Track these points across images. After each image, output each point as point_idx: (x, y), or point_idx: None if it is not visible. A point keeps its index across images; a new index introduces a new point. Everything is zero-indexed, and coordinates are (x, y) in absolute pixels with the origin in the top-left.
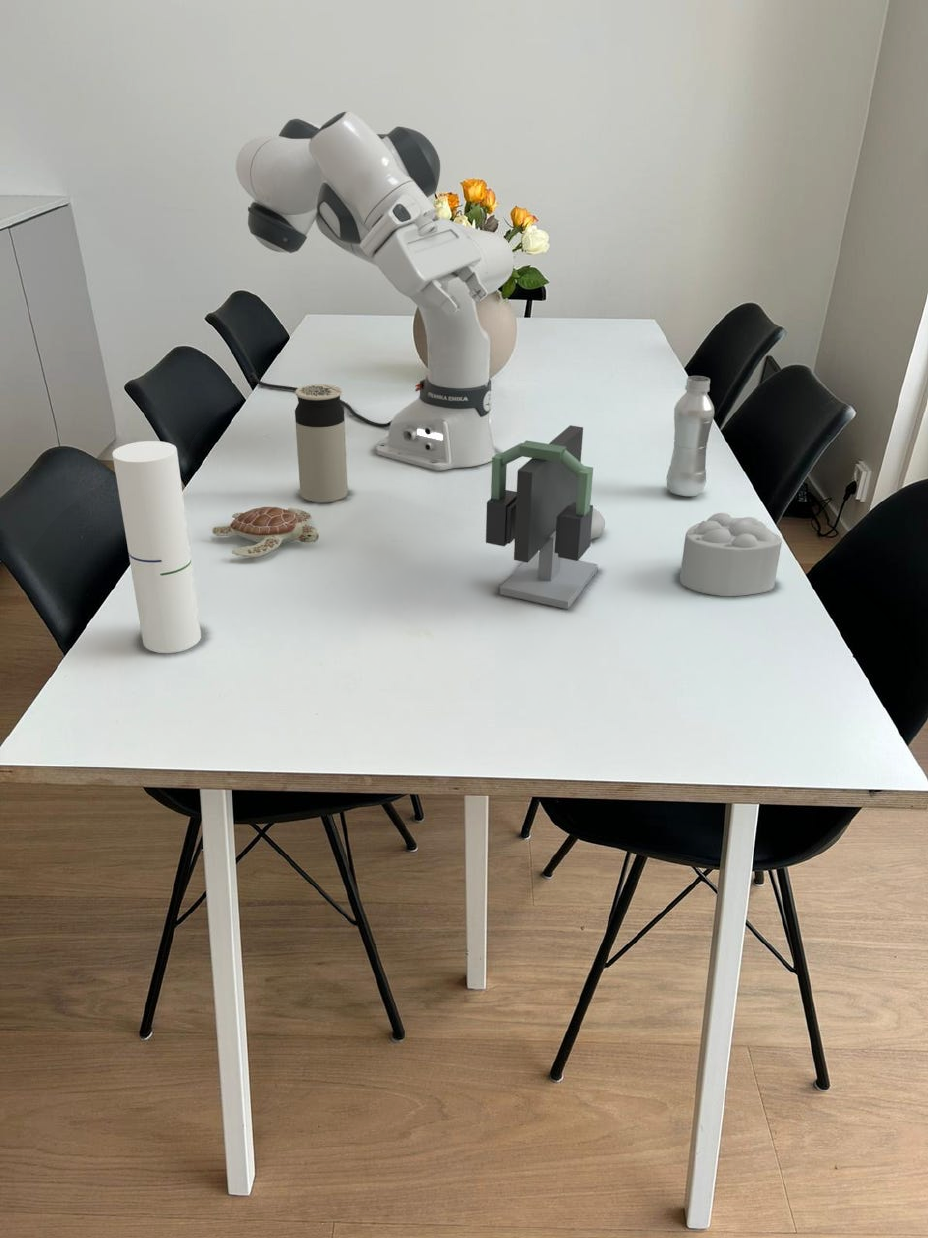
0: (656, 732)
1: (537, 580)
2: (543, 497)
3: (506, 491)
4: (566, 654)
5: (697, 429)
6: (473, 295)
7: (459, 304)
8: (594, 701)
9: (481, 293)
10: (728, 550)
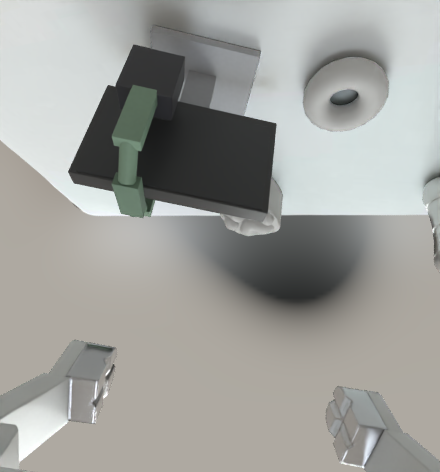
0: (44, 147)
1: (184, 70)
2: None
3: (165, 104)
4: (85, 99)
5: (434, 248)
6: (347, 414)
7: (109, 387)
8: (44, 118)
9: (330, 422)
10: (220, 214)
